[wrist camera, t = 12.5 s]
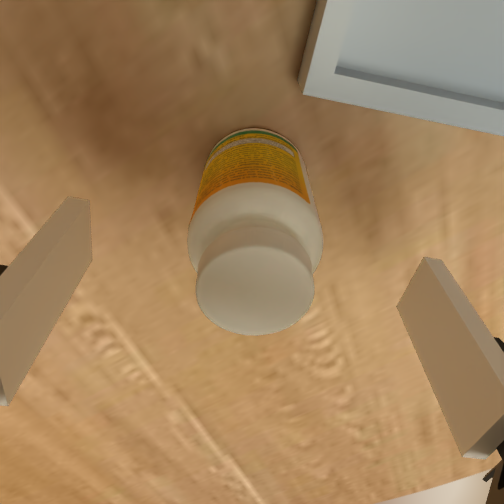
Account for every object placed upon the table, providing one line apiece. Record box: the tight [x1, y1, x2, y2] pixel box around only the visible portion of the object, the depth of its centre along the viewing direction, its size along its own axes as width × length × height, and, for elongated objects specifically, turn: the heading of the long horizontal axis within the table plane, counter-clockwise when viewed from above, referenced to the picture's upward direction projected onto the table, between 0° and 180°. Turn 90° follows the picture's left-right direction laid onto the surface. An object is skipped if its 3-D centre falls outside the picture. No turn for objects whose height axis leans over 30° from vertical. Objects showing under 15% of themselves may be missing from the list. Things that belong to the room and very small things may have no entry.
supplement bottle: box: [187, 128, 323, 336], centre depth 17 cm, size 5×5×10 cm
